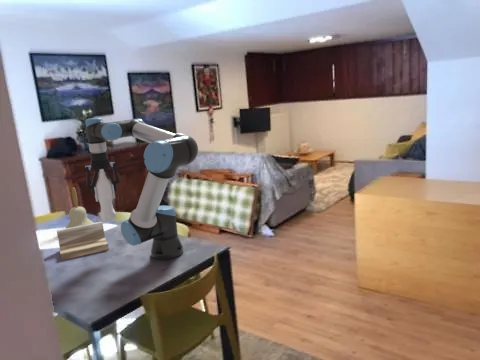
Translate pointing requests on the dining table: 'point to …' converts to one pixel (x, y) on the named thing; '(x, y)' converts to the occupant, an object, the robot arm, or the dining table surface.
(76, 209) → the handbell
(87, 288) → the dining table surface
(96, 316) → the dining table surface
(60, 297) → the dining table surface
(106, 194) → the water bottle
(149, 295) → the dining table surface
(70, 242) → the board
